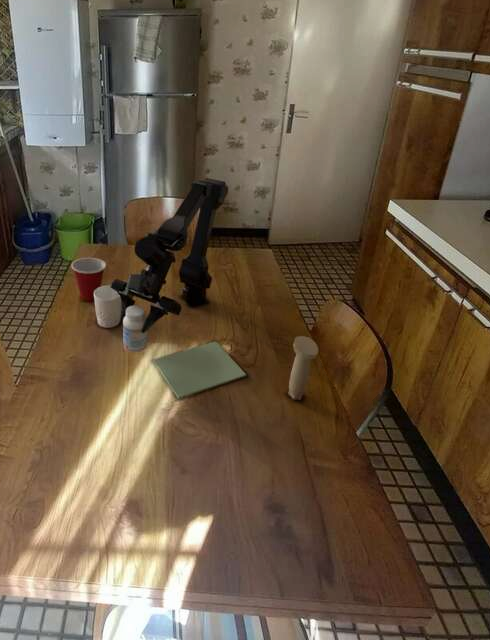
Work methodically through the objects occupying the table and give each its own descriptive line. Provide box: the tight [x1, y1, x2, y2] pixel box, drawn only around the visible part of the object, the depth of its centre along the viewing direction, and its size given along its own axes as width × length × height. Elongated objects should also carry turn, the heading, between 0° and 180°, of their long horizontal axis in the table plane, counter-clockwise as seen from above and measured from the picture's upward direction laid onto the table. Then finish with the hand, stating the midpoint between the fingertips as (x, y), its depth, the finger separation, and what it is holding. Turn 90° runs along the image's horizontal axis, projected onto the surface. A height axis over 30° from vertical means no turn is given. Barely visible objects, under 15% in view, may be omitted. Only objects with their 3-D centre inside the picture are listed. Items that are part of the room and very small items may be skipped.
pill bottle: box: [122, 304, 148, 354], centre depth 110 cm, size 6×6×11 cm
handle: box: [288, 335, 319, 401], centre depth 100 cm, size 5×6×15 cm
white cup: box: [94, 284, 122, 329], centre depth 126 cm, size 8×8×10 cm
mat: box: [153, 341, 247, 400], centre depth 111 cm, size 19×14×1 cm
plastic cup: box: [70, 257, 107, 302], centre depth 138 cm, size 11×11×12 cm
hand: (131, 328), depth 109 cm, fingers closed on pill bottle, 6 cm apart
